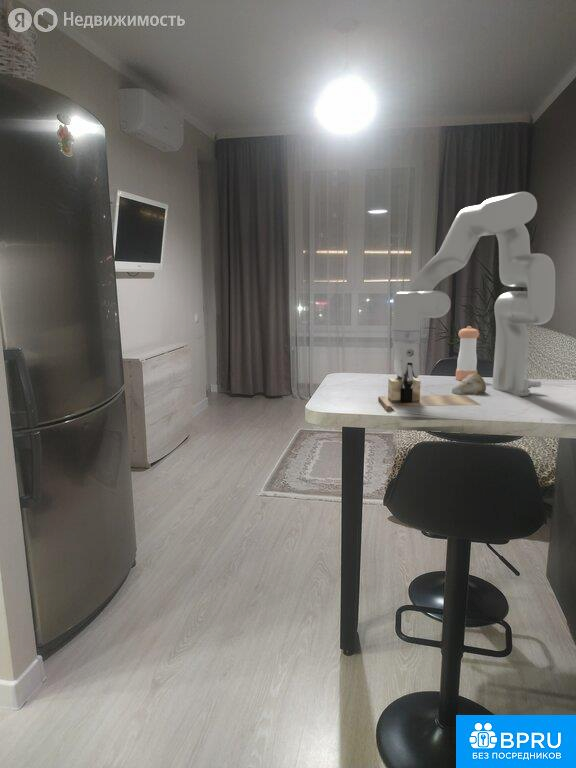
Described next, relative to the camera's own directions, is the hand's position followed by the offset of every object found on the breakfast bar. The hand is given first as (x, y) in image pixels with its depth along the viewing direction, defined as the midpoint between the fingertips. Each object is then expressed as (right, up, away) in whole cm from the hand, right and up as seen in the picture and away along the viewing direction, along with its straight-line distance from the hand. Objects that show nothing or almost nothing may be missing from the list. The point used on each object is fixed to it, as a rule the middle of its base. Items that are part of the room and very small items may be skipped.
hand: (403, 399), depth 147 cm
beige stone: (+22, 0, +11) cm, 25 cm away
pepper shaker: (+31, +6, +38) cm, 50 cm away
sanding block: (0, 0, 0) cm, 0 cm away
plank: (+7, -2, 0) cm, 7 cm away
